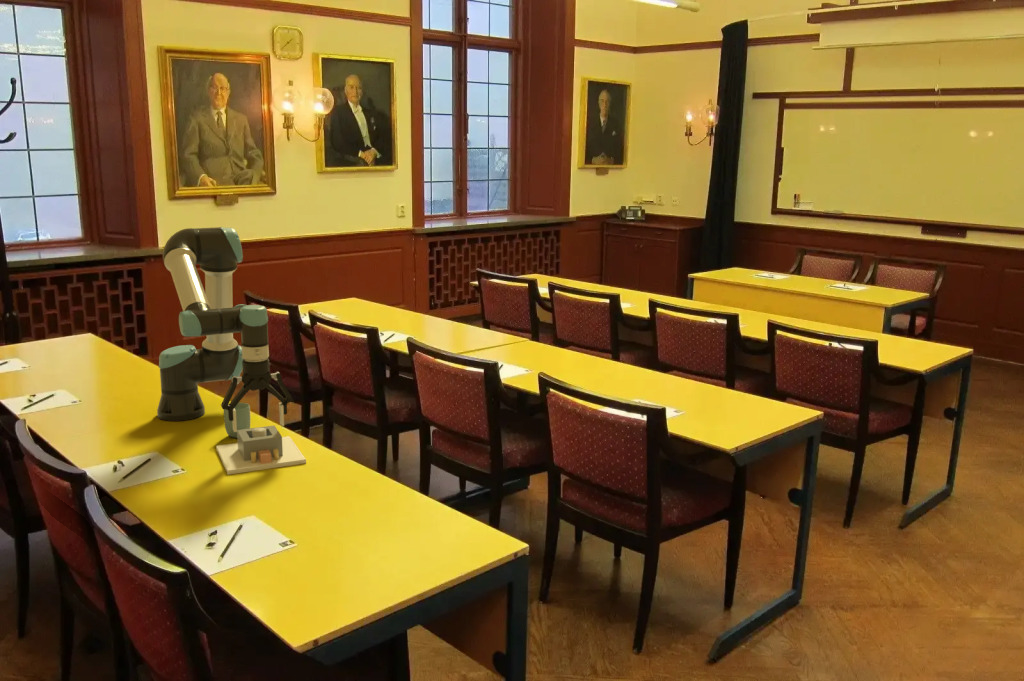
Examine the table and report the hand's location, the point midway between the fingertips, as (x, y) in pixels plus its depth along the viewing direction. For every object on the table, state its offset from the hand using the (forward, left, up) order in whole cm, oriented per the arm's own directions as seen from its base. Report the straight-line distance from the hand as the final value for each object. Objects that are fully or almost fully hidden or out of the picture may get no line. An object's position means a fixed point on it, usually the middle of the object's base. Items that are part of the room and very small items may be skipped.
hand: (258, 427), depth 248 cm
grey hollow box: (+2, 0, -8) cm, 8 cm away
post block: (0, 0, -9) cm, 9 cm away
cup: (-21, -3, -9) cm, 23 cm away
